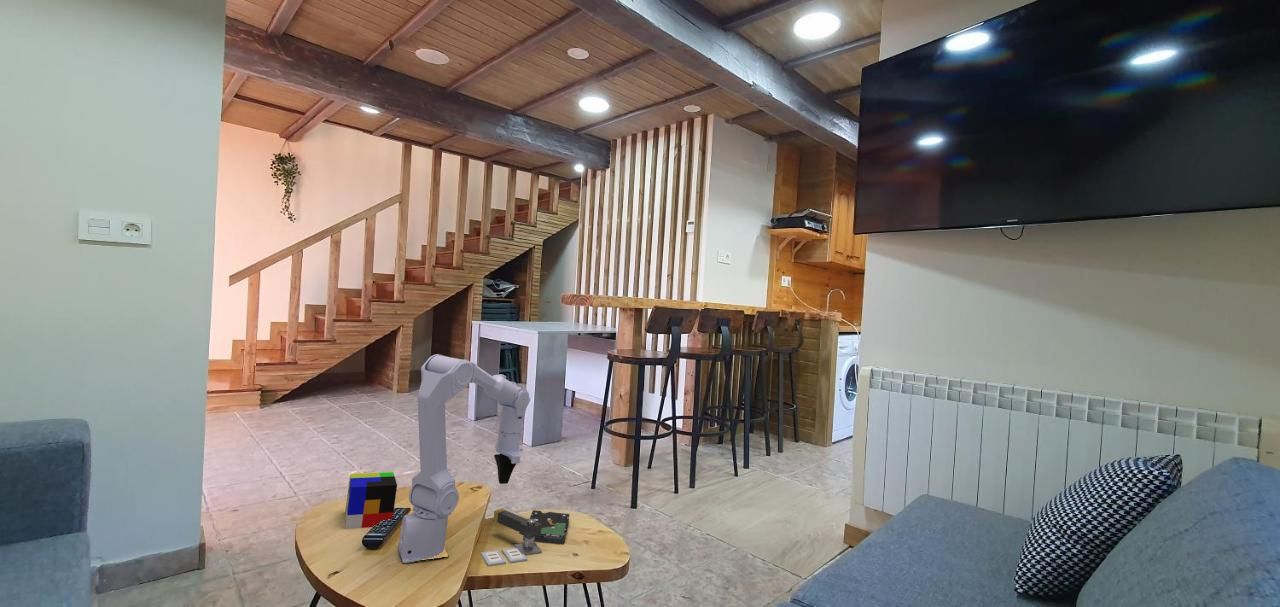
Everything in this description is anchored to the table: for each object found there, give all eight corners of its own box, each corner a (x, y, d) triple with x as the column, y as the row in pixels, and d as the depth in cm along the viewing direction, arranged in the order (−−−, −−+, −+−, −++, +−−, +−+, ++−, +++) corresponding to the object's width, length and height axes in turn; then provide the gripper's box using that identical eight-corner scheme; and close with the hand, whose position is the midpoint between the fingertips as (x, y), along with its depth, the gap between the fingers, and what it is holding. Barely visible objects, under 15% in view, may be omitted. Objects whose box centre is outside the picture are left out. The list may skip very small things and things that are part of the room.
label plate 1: (488, 566, 115) (488, 563, 115) (480, 554, 120) (480, 551, 120) (505, 563, 117) (506, 561, 117) (497, 551, 122) (498, 549, 122)
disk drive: (530, 520, 145) (522, 542, 130) (532, 509, 145) (523, 531, 130) (568, 523, 145) (564, 546, 130) (569, 513, 145) (565, 535, 130)
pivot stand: (521, 555, 122) (525, 525, 122) (514, 546, 126) (518, 517, 126) (541, 553, 125) (545, 523, 125) (534, 543, 129) (537, 515, 129)
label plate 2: (510, 563, 118) (510, 560, 118) (501, 551, 123) (502, 548, 123) (527, 560, 120) (527, 558, 120) (518, 549, 125) (518, 546, 125)
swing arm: (540, 534, 126) (542, 523, 126) (530, 538, 123) (531, 527, 123) (502, 517, 133) (503, 507, 133) (491, 521, 130) (492, 511, 130)
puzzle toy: (345, 529, 124) (351, 487, 125) (344, 513, 133) (350, 473, 133) (391, 525, 129) (397, 484, 130) (388, 510, 138) (393, 472, 138)
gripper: (534, 438, 135) (527, 491, 135) (515, 424, 148) (509, 473, 147) (507, 438, 132) (500, 493, 131) (490, 425, 144) (484, 474, 143)
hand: (503, 482), depth 139 cm, fingers closed
